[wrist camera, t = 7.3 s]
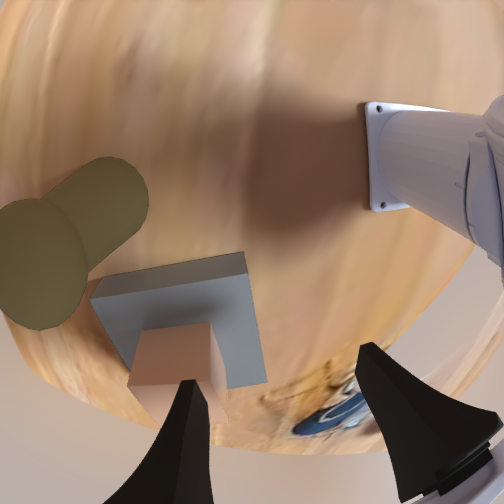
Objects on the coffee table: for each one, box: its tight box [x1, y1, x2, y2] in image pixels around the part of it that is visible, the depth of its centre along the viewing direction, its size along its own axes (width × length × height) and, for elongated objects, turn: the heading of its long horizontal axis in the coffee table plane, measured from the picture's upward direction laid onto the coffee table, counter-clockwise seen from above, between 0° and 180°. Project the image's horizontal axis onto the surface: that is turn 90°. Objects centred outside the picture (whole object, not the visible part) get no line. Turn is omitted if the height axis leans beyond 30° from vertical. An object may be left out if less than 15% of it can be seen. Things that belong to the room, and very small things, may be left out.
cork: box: [0, 157, 149, 331], centre depth 11 cm, size 6×6×11 cm
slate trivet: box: [89, 252, 267, 389], centre depth 20 cm, size 11×11×3 cm
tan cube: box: [127, 322, 229, 426], centre depth 16 cm, size 5×5×5 cm
